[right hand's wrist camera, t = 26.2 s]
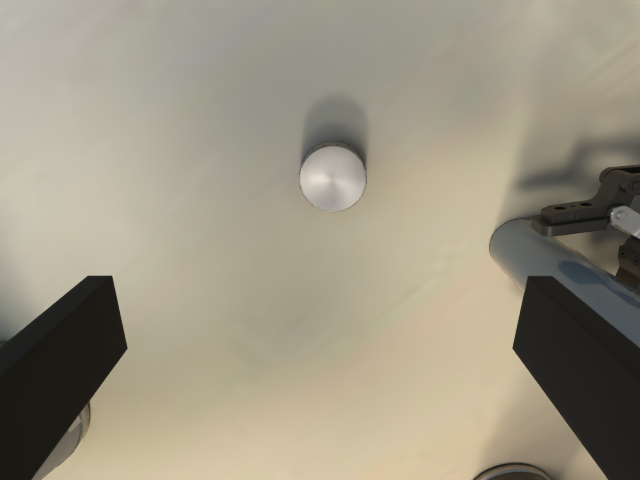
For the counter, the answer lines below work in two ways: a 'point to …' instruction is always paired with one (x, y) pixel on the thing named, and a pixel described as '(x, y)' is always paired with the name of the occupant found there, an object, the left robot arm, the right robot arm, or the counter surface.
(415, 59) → the counter surface
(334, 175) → the lid
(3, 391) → the right robot arm
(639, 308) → the bottle
